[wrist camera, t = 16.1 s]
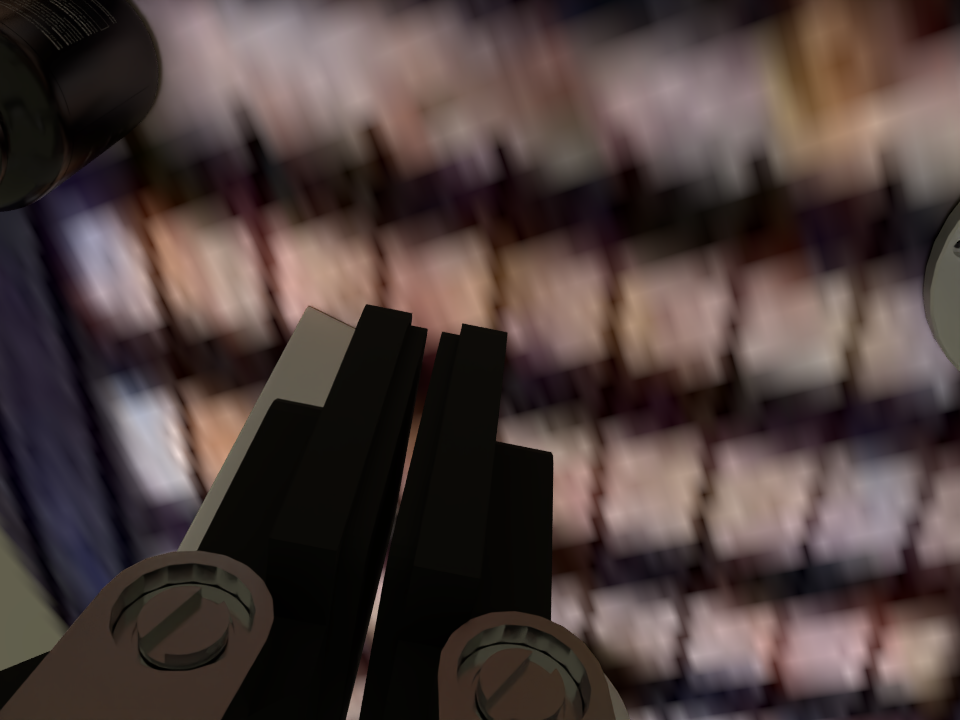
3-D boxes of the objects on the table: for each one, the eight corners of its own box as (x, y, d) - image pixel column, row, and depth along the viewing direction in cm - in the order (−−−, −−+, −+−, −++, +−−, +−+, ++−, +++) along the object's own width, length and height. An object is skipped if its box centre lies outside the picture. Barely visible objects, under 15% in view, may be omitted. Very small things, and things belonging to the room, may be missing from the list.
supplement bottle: (-39, 8, 35) (-284, 83, 25) (97, -67, 34) (-107, -20, 23) (66, 163, 38) (-115, 286, 28) (196, 102, 37) (54, 210, 26)
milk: (423, 360, 42) (317, 791, 23) (370, 448, 45) (238, 895, 26) (305, 302, 41) (94, 707, 22) (259, 397, 44) (37, 825, 25)
